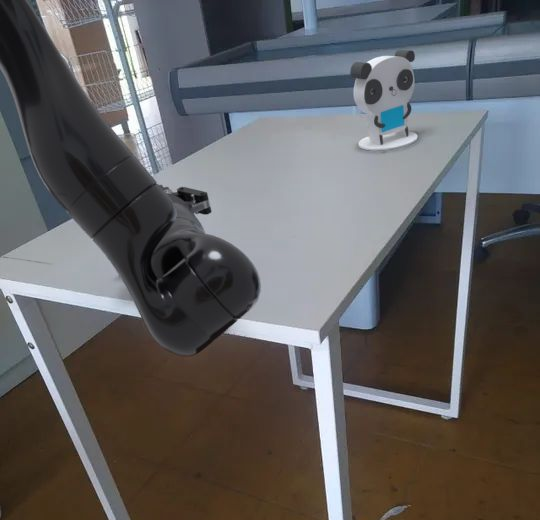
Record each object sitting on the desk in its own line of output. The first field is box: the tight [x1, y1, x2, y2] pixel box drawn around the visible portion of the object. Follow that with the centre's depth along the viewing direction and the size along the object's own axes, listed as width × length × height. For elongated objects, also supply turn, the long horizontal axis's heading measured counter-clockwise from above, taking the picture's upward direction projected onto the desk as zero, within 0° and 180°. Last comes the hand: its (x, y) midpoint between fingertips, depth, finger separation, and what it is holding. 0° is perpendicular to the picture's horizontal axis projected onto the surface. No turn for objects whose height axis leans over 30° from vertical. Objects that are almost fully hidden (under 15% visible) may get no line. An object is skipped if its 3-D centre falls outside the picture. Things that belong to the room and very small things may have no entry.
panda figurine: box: [350, 49, 419, 152], centre depth 103 cm, size 12×11×15 cm
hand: (147, 196), depth 74 cm, fingers closed on lighter, 3 cm apart
